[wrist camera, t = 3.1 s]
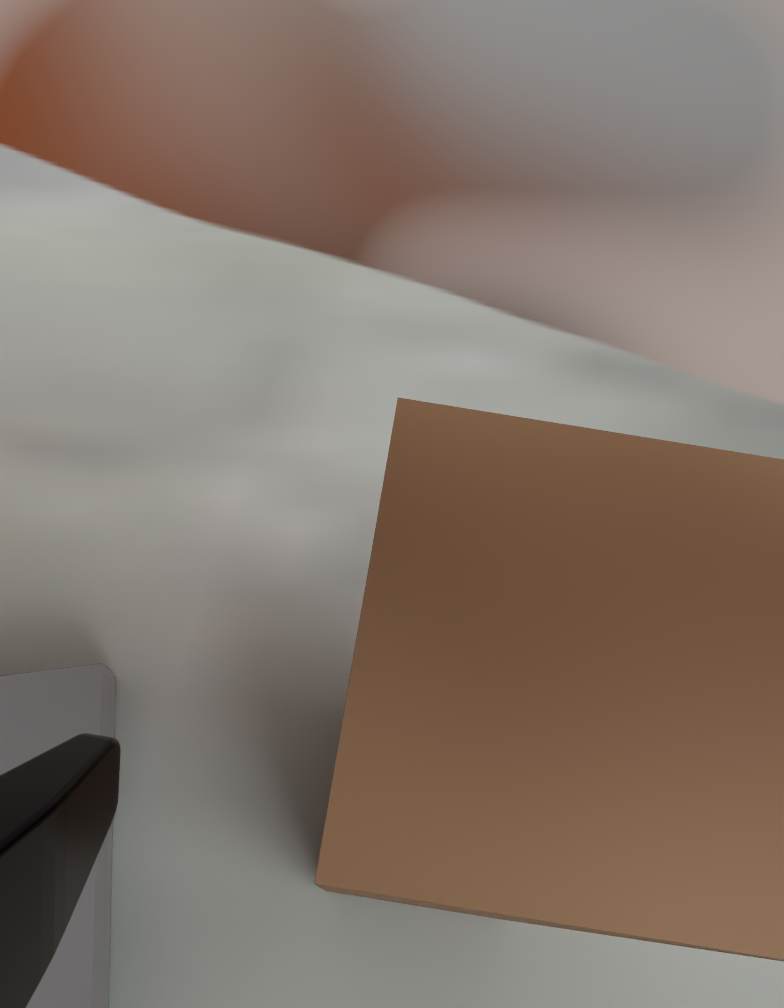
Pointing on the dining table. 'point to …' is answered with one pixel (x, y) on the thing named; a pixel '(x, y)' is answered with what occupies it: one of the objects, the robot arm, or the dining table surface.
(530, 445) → the wooden pillar
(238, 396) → the dining table surface
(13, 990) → the robot arm
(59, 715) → the slate board
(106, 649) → the dining table surface
